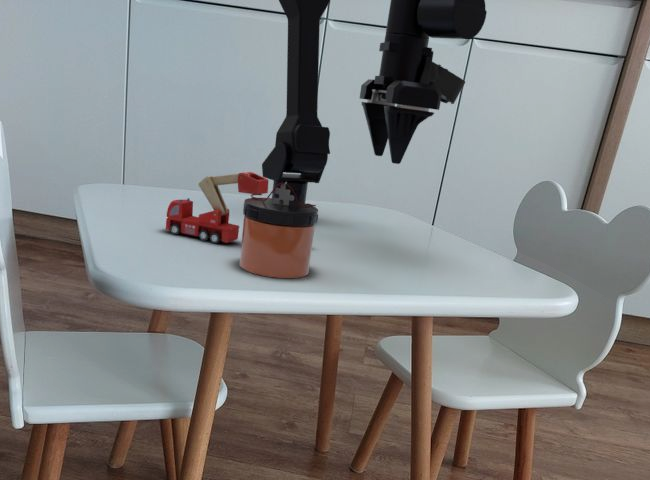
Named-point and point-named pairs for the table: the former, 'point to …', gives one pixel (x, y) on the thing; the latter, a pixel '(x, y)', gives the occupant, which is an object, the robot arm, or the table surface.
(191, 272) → the table surface
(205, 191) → the toy fire truck
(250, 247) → the jar
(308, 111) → the robot arm
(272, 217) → the jar lid
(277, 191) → the pendant
